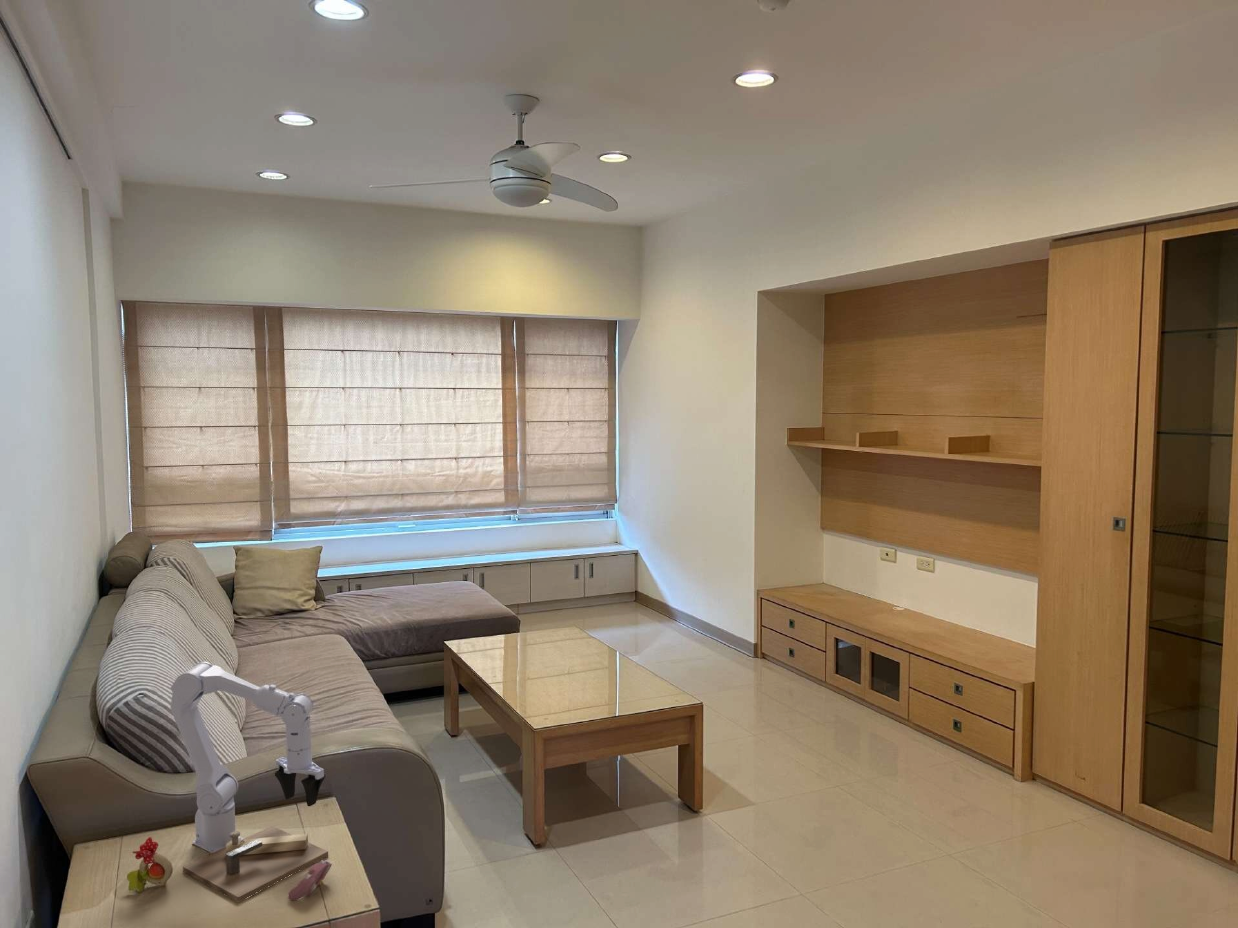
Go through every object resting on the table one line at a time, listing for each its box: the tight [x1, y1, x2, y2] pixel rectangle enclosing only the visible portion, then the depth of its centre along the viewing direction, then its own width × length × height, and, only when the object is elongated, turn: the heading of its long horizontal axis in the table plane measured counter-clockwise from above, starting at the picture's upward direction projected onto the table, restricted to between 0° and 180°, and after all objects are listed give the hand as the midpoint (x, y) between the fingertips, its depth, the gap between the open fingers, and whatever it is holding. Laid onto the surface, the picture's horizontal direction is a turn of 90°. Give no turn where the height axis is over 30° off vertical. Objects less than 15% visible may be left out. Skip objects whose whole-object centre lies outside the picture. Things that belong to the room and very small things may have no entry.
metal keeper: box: [226, 839, 262, 876], centre depth 201 cm, size 2×8×5 cm, turn 145°
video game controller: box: [287, 859, 333, 901], centre depth 194 cm, size 10×5×7 cm, turn 169°
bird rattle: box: [126, 836, 174, 893], centre depth 195 cm, size 6×11×9 cm
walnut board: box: [182, 825, 329, 903], centre depth 205 cm, size 22×23×1 cm
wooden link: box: [226, 830, 309, 855], centre depth 208 cm, size 18×4×5 cm, turn 100°
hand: (300, 800), depth 214 cm, fingers open, 7 cm apart
